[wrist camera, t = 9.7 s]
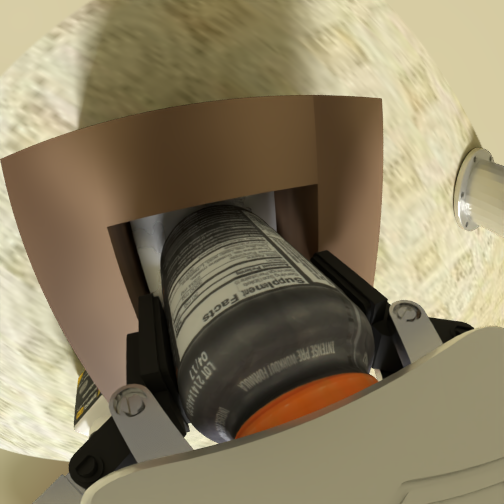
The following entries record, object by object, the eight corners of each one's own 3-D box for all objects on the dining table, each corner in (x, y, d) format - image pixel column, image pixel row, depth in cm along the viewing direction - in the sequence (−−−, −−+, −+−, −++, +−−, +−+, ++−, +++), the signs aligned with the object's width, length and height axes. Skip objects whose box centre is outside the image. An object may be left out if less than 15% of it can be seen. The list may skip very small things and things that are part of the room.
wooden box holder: (274, 103, 21) (381, 98, 10) (285, 271, 28) (360, 356, 17) (76, 138, 17) (0, 159, 7) (125, 311, 24) (127, 427, 14)
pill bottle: (261, 307, 17) (369, 476, 7) (157, 308, 15) (199, 527, 5) (284, 207, 15) (472, 353, 5) (164, 196, 13) (219, 433, 3)
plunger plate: (265, 170, 16) (272, 173, 15) (274, 286, 19) (280, 294, 18) (127, 198, 14) (125, 203, 13) (160, 315, 17) (161, 325, 16)
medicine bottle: (106, 338, 24) (103, 449, 14) (166, 368, 28) (187, 470, 18) (77, 377, 25) (71, 476, 15) (132, 402, 29) (143, 494, 18)
